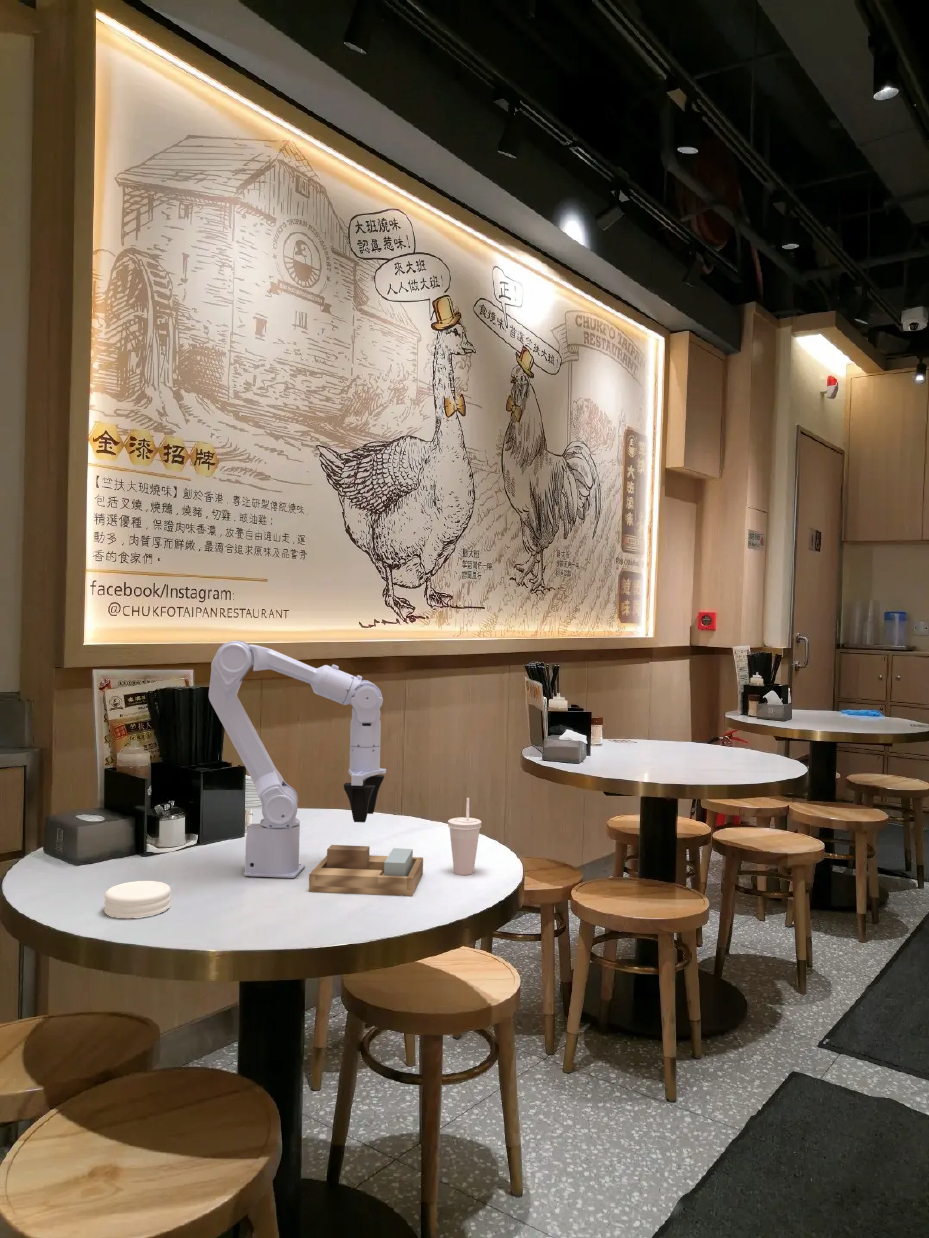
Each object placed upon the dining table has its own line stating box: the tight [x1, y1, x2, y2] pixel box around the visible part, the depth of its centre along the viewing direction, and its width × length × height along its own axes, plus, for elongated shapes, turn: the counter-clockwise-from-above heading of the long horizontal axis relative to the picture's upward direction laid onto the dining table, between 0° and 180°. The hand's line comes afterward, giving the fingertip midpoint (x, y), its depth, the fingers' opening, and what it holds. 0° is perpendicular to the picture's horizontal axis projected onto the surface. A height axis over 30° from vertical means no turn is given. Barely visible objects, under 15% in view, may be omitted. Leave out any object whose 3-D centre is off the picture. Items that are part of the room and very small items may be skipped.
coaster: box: [103, 880, 172, 918], centre depth 142 cm, size 10×10×4 cm
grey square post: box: [384, 847, 414, 877], centre depth 159 cm, size 4×10×4 cm, turn 176°
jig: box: [308, 854, 424, 897], centre depth 159 cm, size 18×14×3 cm
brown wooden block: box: [326, 844, 370, 870], centre depth 159 cm, size 7×3×5 cm, turn 85°
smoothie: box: [447, 797, 482, 876], centre depth 167 cm, size 6×6×14 cm
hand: (363, 817), depth 167 cm, fingers open, 7 cm apart
